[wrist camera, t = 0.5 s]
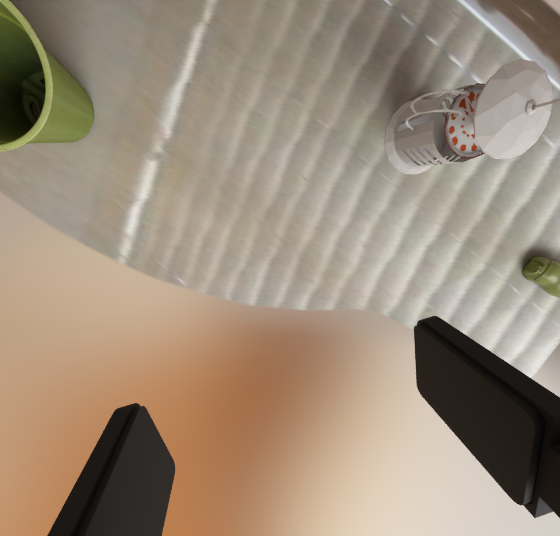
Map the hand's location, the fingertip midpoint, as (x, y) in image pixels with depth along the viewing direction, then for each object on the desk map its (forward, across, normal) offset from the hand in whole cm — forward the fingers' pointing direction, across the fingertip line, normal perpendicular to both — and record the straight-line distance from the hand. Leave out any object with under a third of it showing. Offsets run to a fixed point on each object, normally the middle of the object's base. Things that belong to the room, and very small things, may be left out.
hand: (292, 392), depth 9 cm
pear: (+31, -50, +20) cm, 62 cm away
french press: (+31, -25, -8) cm, 41 cm away
